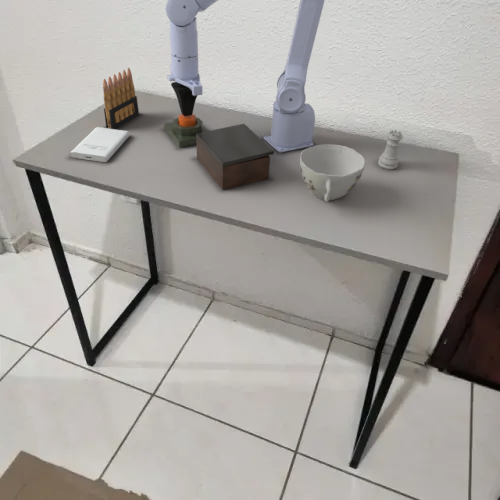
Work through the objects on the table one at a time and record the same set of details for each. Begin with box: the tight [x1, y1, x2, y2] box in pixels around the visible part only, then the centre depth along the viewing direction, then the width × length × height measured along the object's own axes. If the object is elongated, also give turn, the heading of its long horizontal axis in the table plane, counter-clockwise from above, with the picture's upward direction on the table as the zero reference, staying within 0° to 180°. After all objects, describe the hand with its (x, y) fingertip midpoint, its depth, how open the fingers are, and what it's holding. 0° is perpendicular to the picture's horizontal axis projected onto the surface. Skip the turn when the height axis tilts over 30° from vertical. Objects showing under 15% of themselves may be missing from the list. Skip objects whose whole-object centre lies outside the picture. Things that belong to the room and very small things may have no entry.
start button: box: [178, 113, 197, 127], centre depth 109 cm, size 4×4×2 cm
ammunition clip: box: [102, 67, 140, 130], centre depth 112 cm, size 11×2×12 cm, turn 154°
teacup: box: [299, 143, 366, 203], centre depth 92 cm, size 15×12×8 cm
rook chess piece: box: [377, 129, 403, 171], centre depth 103 cm, size 4×4×8 cm
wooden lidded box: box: [196, 137, 271, 191], centre depth 99 cm, size 11×14×5 cm
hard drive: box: [69, 126, 130, 163], centre depth 105 cm, size 2×8×12 cm
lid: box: [196, 123, 275, 166], centre depth 97 cm, size 11×14×1 cm
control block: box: [164, 116, 208, 149], centre depth 111 cm, size 10×8×4 cm
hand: (187, 114), depth 108 cm, fingers closed
